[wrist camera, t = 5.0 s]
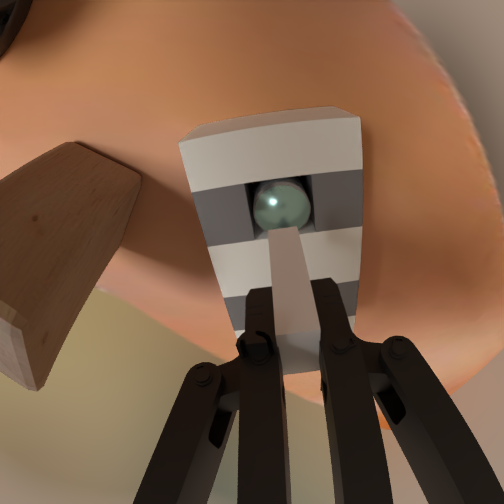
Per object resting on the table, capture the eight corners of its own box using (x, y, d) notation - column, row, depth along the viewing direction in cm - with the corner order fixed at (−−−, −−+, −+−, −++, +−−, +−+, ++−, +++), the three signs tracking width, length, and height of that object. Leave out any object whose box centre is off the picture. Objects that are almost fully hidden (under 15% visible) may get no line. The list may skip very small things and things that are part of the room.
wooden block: (148, 173, 26) (23, 336, 9) (120, 247, 31) (40, 400, 14) (69, 136, 23) (-85, 243, 6) (53, 211, 28) (-50, 334, 11)
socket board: (198, 125, 23) (178, 142, 17) (333, 106, 22) (360, 117, 16) (243, 306, 35) (241, 352, 30) (339, 294, 34) (352, 338, 28)
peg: (250, 159, 25) (248, 189, 19) (295, 153, 24) (308, 180, 18) (257, 199, 27) (258, 239, 21) (299, 193, 26) (312, 232, 21)
